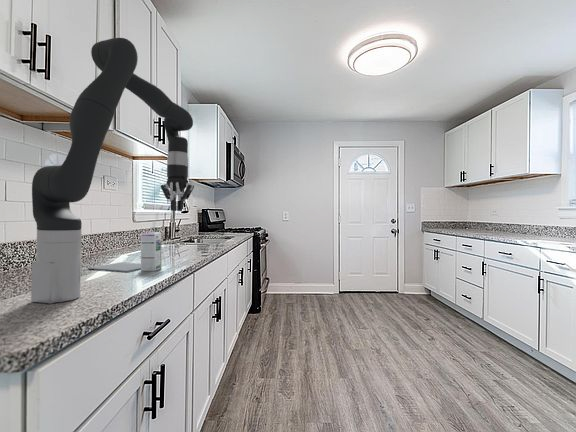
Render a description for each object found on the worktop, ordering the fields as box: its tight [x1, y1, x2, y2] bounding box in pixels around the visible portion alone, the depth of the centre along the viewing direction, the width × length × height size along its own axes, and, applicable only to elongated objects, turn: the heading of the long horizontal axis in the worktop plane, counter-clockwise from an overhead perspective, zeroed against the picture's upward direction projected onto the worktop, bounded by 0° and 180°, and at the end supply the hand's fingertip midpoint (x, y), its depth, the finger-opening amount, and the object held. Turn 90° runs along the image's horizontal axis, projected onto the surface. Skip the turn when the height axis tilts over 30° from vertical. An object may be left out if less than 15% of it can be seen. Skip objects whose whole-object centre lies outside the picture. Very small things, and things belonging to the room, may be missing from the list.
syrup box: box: [140, 231, 162, 272], centre depth 129 cm, size 6×6×14 cm
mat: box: [87, 262, 141, 273], centre depth 132 cm, size 16×18×1 cm
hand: (176, 210), depth 126 cm, fingers closed
